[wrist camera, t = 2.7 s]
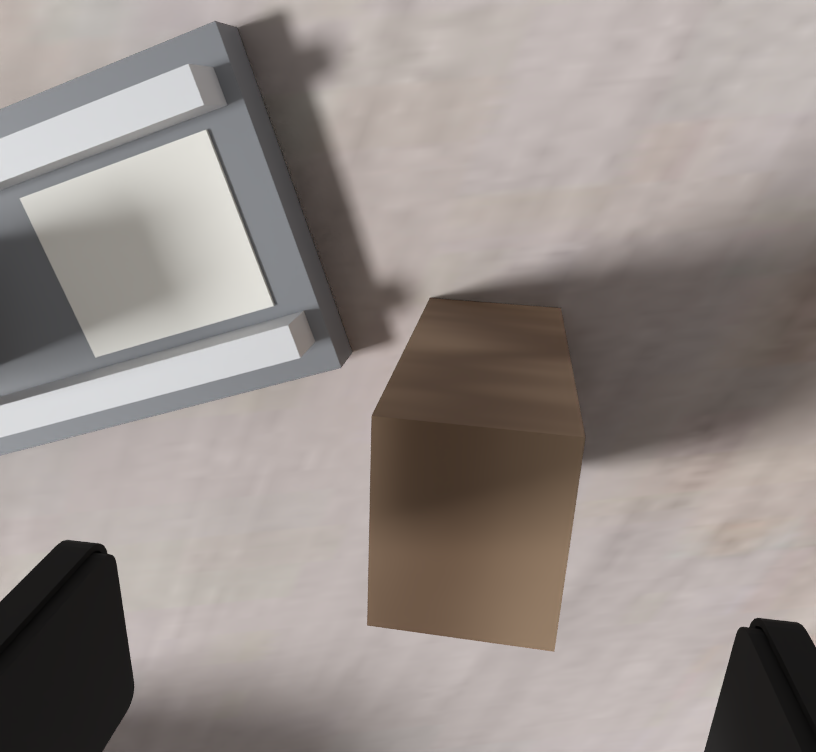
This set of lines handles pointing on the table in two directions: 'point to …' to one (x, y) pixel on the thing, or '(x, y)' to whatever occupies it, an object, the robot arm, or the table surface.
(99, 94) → the frame
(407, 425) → the walnut finger
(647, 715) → the table surface
